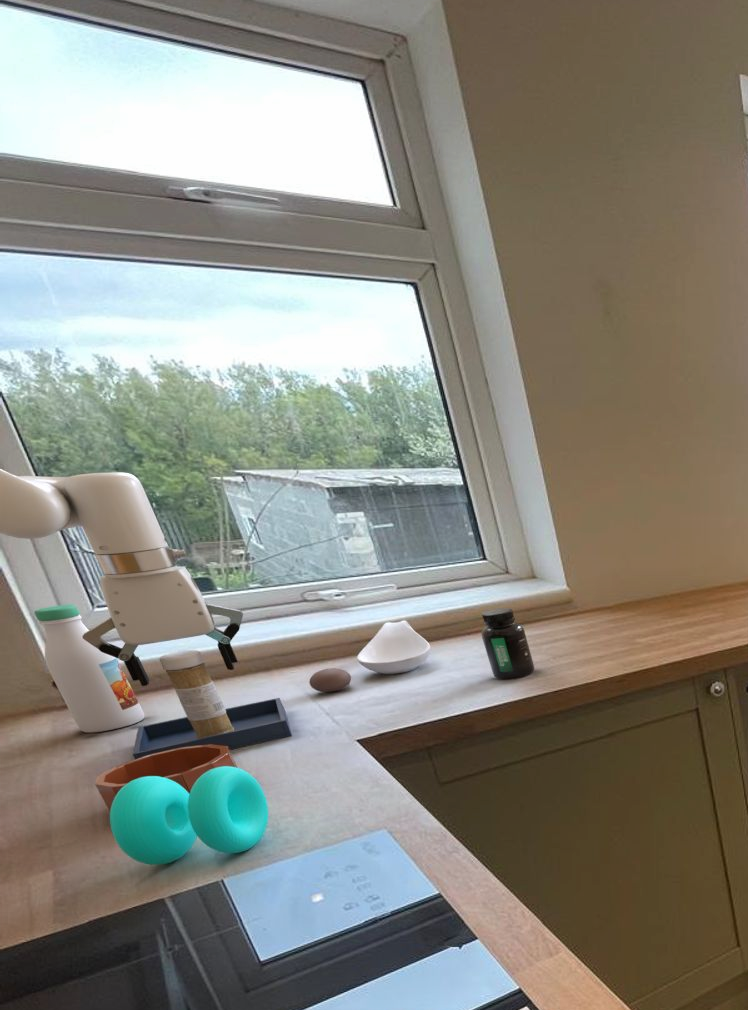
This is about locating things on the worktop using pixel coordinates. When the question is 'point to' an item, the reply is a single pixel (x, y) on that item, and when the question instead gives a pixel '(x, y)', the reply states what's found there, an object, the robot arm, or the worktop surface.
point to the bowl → (165, 768)
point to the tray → (249, 729)
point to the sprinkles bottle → (196, 692)
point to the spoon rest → (394, 649)
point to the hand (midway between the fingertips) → (189, 675)
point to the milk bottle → (86, 674)
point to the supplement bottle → (506, 645)
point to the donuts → (188, 815)
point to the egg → (330, 680)
